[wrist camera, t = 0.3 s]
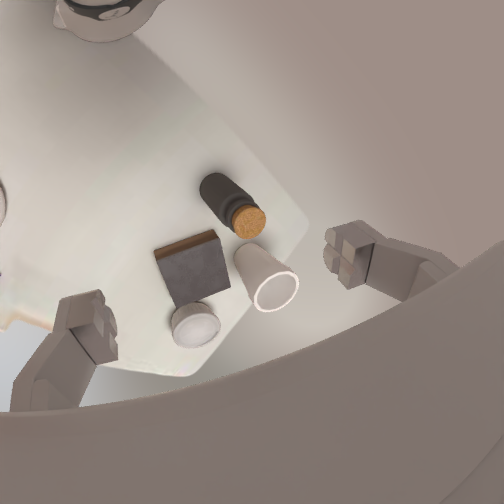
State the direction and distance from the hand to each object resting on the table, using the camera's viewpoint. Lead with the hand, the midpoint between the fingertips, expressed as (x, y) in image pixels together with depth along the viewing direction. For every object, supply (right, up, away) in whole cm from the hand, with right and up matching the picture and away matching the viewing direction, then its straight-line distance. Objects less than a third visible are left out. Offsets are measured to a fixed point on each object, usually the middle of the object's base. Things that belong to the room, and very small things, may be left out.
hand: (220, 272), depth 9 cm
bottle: (-6, +12, +40) cm, 42 cm away
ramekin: (-13, -14, +53) cm, 57 cm away
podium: (-11, -2, +46) cm, 47 cm away
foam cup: (0, 0, +51) cm, 51 cm away
